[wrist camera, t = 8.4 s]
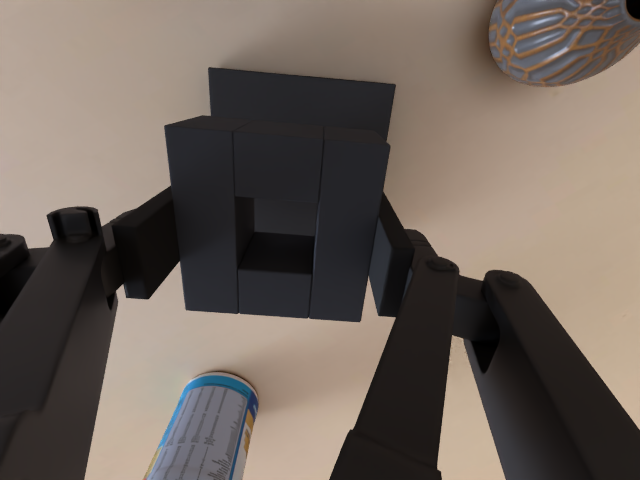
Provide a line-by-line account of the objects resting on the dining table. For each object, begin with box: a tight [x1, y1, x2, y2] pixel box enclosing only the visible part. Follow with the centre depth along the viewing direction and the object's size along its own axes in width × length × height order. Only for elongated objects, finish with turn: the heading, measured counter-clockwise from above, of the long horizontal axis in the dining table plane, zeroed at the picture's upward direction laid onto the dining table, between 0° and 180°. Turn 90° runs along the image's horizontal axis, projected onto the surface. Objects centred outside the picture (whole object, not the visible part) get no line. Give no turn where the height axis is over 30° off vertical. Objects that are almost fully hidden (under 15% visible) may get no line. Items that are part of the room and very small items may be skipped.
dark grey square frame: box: [164, 115, 390, 322], centre depth 15 cm, size 8×8×4 cm
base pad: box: [208, 67, 396, 237], centre depth 23 cm, size 12×12×4 cm
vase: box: [489, 0, 640, 87], centre depth 17 cm, size 7×7×9 cm
